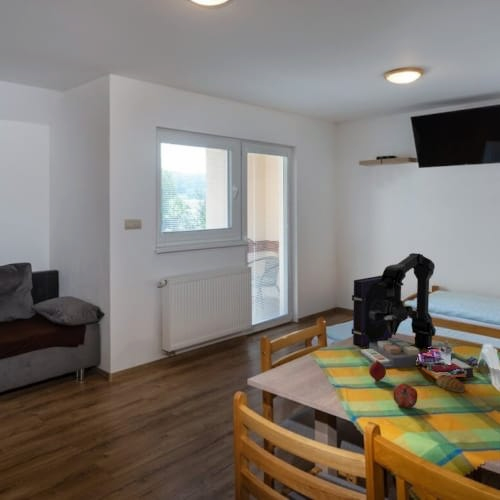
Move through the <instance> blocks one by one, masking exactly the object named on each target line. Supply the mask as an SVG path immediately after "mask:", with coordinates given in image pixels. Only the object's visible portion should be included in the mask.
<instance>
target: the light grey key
mask: <svg viewBox="0 0 500 500" xmlns="http://www.w3.org/2000/svg"><path fill="white" fill-rule="evenodd" d="M389 345H392V343H391V342H389V341H388V340H382V341H378V347H379V348H381V349H385V346H389Z"/></svg>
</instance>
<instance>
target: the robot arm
mask: <svg viewBox="0 0 500 500" xmlns="http://www.w3.org/2000/svg"><path fill="white" fill-rule="evenodd" d="M412 269H413V274H414V276H415V278H416V279H417V282H416V283H417V284H416V288H417V289H416V310H415V309H413V306H411V305H406V306H404V302H403V300H402V286H404V283H403V280H404V279H405V277H406V274H407V272H409V271H411V270H412ZM434 271H435V263H434V262H433V261H432V260H431V259H430V258H428V257H425V256H424V255H423V254H421V253H415V252H414V253H412V252H411V253H409V254H408V256H406V257H405V258H404V259H402V260H401V261H400V262H398V263H396V264H390V265H388V266H386V267H385V268H384V270H383V272H382V277H381V280H380V282H379V287H377V288H376V289H375V291H374V296H375V298H376V299H377V300H379V301H384V300H385V302H386V309H385V311H386V312H381V311H379V310H376V311H370V313H369V317H370V318H372V319H374V320H384V321H385V323H386V325H387V327H388V330H389V332H390V335H392V336H396V334H397V332H398V329H399V327H400V325H401V323H403V321H406V320H408V317H409V318H410V319H411V326H410V327H411V330H412V332H411V333H412V334H415V336H414V344H413V345H412V346H414V347H415V348H417V347H418V348H417V349H419V348H421V349H420V350H424V349H423V348H428V347H430V346H432V347H433V337H435V335H436V331H437V329H436V328H435V326H434V324H433V318H432V316H431V314H430V313H429V297H430V296H429V295H430V294H429V292H430V279H432V276H433V275H434ZM390 280H391V281H390ZM389 314H392V315H389Z"/></svg>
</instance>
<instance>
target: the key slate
mask: <svg viewBox="0 0 500 500" xmlns="http://www.w3.org/2000/svg"><path fill="white" fill-rule="evenodd" d="M387 341H389V342H391V343H392V345H395V343H396V342H404V341H403V340H402V339H400V338H398V337H391V338H388V339H387Z"/></svg>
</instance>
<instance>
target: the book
mask: <svg viewBox="0 0 500 500" xmlns="http://www.w3.org/2000/svg"><path fill="white" fill-rule="evenodd" d="M381 277H382V275H376V276H372V277H371V276H370V277H365V278H359V279H354V280H353V294H352V295H351V301H353V312H352V315H353V316H352V317H353V318H352V320H353V322H352V323H353V326H352V328H351V335H353V336H352V344H353V346H355V345H360V347H362V348H363V347H367V346H369V343H373V342H378V341H386V340H388V338H393V335H390V332H389V330H388V327H387V325H386V323H385V321H384V320H374V319H372V318H370V317H369V313H370V311H376V310H379V311H381V312H386V311H385V309H386V302H385V300H384V301H379V300H377V299H376V298H375V296H374V291H375V289H376V288H377V287H379V282H380V280H381ZM390 281H391V280H390ZM389 315H392V314H389Z"/></svg>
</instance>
